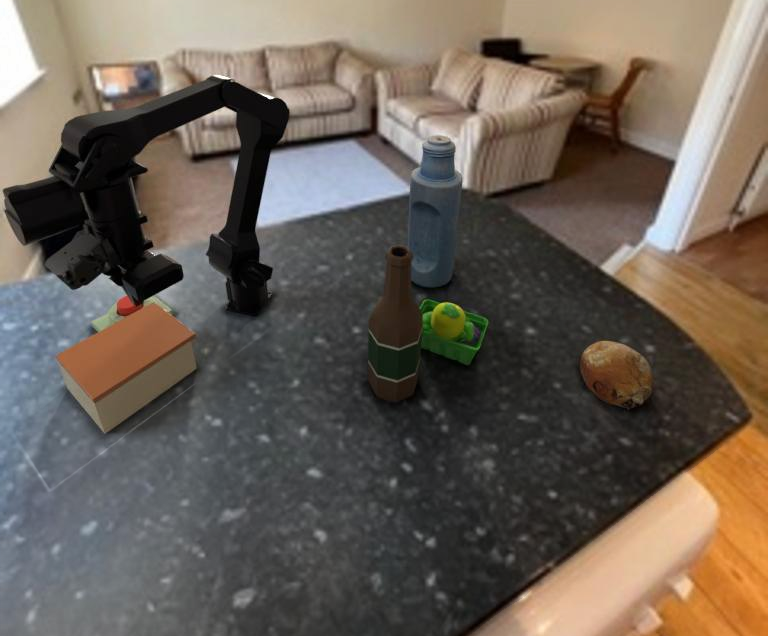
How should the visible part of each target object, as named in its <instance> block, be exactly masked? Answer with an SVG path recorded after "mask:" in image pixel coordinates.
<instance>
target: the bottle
mask: <svg viewBox="0 0 768 636" xmlns="http://www.w3.org/2000/svg"><path fill="white" fill-rule="evenodd" d="M421 149H422V157H421V161H420V166H418V167H417V168H415V169H413V170H412V172H411V174H410V183H409V186H410V187H409V200H408V225H407V245H406V247H408V248H409V249H410V250H411V251H412V253H413V257H414V258H413V260H412V262H411V283H413V284H415V285H417V286H419V287H421V288H422V287H423V288H429V289H433V288H439V287H443V286H445V285H447V284H449V282H450V281H451V280H452V278H453V273H454V272H453V271H454V262H455V261H454V260H455V251H456V245H457V236H458V235H457V234H458V225H459V217H460V209H461V199H462V189H463V182H464V180H463V179H464V177H463V175H462V173H461V172H460V171H458V170H457V169H456V164H455V154H456V150H457V147H456V144H455V142H454V141H452V139H451V138H450V137H448V136H446V135H441V134H435V135H431V136H428V137H427V139H425V140H424V141H423V142H422V144H421Z"/></svg>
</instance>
